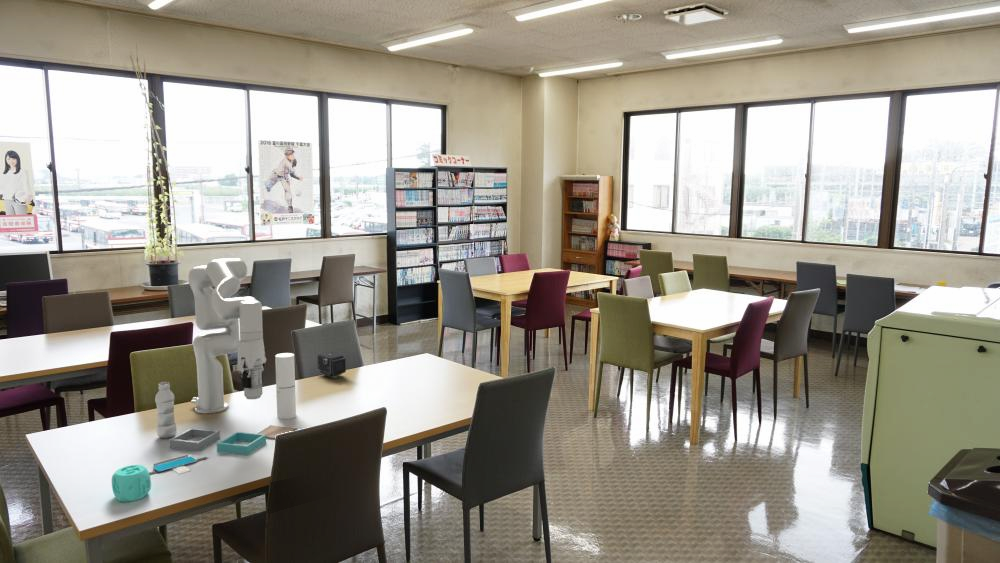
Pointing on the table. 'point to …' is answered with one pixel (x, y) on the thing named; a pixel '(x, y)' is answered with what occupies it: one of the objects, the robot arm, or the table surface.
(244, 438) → the teal flat square frame
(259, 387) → the energy drink can
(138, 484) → the decorative dice
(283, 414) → the cylindrical container
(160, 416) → the plastic bottle
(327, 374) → the camera
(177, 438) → the grey crate
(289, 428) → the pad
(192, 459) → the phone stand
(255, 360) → the robot arm
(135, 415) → the table surface
